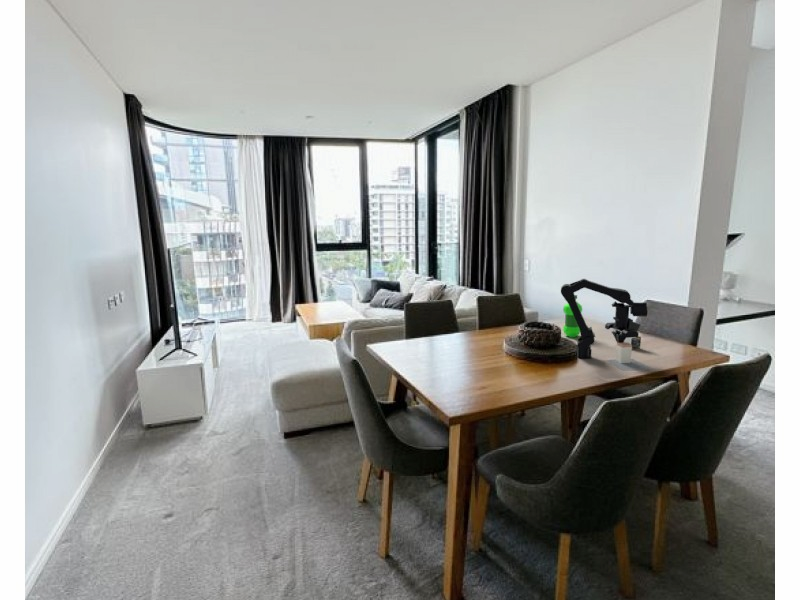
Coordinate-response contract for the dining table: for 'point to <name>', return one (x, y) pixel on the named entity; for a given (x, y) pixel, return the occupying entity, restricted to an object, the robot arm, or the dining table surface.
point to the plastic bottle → (571, 321)
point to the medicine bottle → (634, 341)
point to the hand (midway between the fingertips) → (620, 346)
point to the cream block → (623, 352)
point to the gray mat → (629, 365)
